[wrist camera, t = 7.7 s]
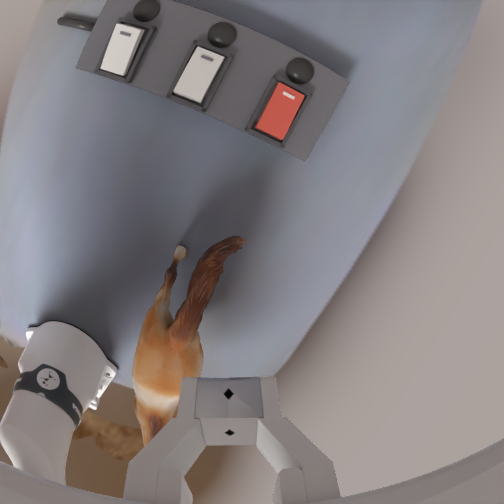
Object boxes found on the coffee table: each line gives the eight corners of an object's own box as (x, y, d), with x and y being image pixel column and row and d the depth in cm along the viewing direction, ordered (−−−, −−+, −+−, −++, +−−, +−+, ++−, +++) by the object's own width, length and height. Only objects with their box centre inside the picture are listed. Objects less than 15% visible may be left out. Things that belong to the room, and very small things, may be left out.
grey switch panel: (299, 156, 34) (307, 163, 31) (44, 57, 26) (27, 56, 22) (340, 82, 30) (352, 81, 27) (77, -14, 22) (63, -22, 18)
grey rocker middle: (200, 104, 28) (200, 101, 26) (174, 93, 27) (173, 90, 25) (223, 61, 26) (224, 56, 25) (197, 51, 26) (197, 46, 24)
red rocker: (279, 140, 30) (283, 139, 28) (254, 127, 29) (256, 126, 27) (300, 98, 29) (305, 95, 27) (275, 85, 28) (279, 81, 26)
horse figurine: (181, 376, 51) (168, 483, 33) (138, 364, 49) (113, 469, 31) (246, 218, 38) (257, 343, 20) (184, 197, 36) (138, 309, 18)
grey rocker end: (129, 73, 26) (122, 75, 25) (106, 66, 26) (99, 68, 24) (146, 30, 23) (140, 30, 22) (122, 23, 23) (116, 23, 21)
